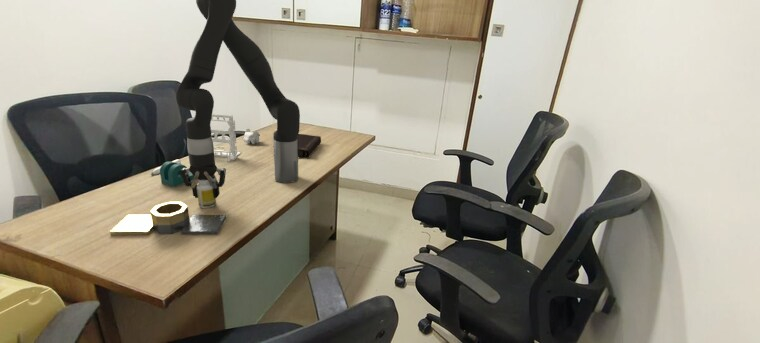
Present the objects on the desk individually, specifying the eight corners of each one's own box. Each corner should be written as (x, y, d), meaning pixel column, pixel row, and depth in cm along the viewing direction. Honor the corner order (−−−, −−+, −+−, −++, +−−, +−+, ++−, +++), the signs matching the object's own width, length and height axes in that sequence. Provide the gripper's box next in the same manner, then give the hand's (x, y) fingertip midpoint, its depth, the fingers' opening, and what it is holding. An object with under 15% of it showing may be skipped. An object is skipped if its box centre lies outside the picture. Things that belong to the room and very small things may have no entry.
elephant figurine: (239, 143, 186) (238, 130, 184) (254, 139, 194) (253, 127, 191) (248, 146, 182) (247, 133, 180) (263, 143, 190) (263, 130, 187)
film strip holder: (243, 152, 174) (240, 112, 166) (231, 162, 161) (228, 118, 154) (214, 150, 174) (210, 109, 167) (200, 159, 161) (194, 116, 154)
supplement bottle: (219, 203, 124) (217, 177, 121) (208, 209, 120) (204, 183, 116) (207, 200, 126) (204, 174, 122) (195, 206, 121) (191, 179, 117)
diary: (321, 144, 196) (321, 135, 194) (309, 159, 173) (309, 149, 171) (288, 141, 197) (288, 132, 195) (271, 155, 174) (271, 145, 172)
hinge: (226, 218, 116) (224, 201, 113) (217, 234, 107) (215, 216, 104) (128, 217, 111) (125, 200, 109) (110, 235, 102) (106, 216, 100)
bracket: (173, 187, 134) (171, 168, 131) (161, 183, 136) (158, 164, 133) (213, 172, 149) (211, 155, 146) (201, 169, 152) (199, 151, 149)
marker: (150, 178, 141) (178, 164, 156) (153, 176, 141) (181, 163, 155) (146, 173, 141) (175, 159, 155) (149, 171, 140) (178, 157, 154)
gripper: (227, 147, 120) (231, 192, 126) (181, 145, 118) (188, 192, 124) (221, 154, 113) (225, 202, 119) (172, 153, 111) (179, 202, 117)
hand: (206, 196), depth 122 cm, fingers closed on supplement bottle, 5 cm apart
